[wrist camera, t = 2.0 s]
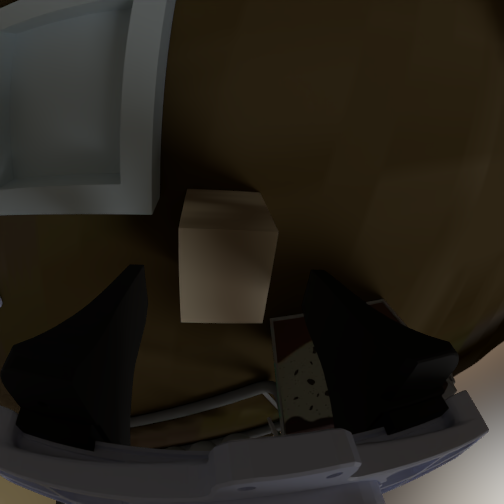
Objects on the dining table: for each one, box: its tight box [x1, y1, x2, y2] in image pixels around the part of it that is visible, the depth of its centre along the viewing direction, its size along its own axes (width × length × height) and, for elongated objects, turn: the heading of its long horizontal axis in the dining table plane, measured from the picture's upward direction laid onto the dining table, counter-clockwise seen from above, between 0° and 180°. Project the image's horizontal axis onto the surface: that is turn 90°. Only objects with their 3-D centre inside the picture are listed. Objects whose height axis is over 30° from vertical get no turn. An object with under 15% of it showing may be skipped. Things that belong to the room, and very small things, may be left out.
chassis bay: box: [0, 0, 176, 215], centre depth 11 cm, size 11×12×2 cm
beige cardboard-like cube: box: [179, 189, 279, 323], centre depth 15 cm, size 4×5×5 cm
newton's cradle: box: [56, 381, 281, 504], centre depth 21 cm, size 30×10×18 cm, turn 114°
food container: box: [267, 299, 457, 436], centre depth 19 cm, size 12×6×10 cm, turn 93°
